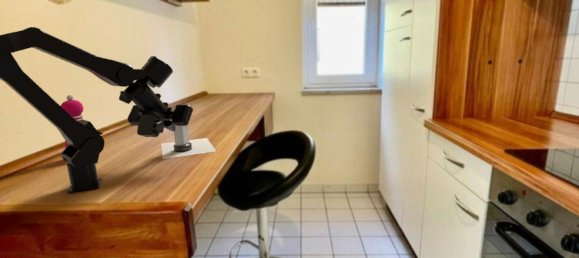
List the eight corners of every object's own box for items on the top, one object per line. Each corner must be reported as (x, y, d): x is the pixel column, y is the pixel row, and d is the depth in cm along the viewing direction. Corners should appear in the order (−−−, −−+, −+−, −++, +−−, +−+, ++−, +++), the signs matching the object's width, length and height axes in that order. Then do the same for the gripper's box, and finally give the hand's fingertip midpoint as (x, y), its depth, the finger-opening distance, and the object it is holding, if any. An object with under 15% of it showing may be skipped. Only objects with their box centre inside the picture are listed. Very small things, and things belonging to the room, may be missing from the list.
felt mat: (216, 152, 106) (216, 151, 105) (162, 159, 100) (162, 158, 100) (207, 138, 124) (206, 137, 124) (161, 144, 118) (161, 143, 118)
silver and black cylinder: (186, 152, 106) (182, 118, 103) (170, 151, 107) (166, 118, 104) (195, 147, 111) (191, 115, 109) (180, 147, 112) (176, 115, 110)
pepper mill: (64, 162, 101) (51, 97, 97) (72, 156, 108) (60, 94, 104) (90, 159, 103) (78, 95, 99) (96, 153, 110) (86, 93, 106)
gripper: (104, 124, 88) (138, 152, 101) (167, 125, 84) (194, 153, 97) (121, 91, 94) (151, 121, 107) (180, 90, 90) (204, 121, 102)
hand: (174, 130), depth 103 cm, fingers closed
